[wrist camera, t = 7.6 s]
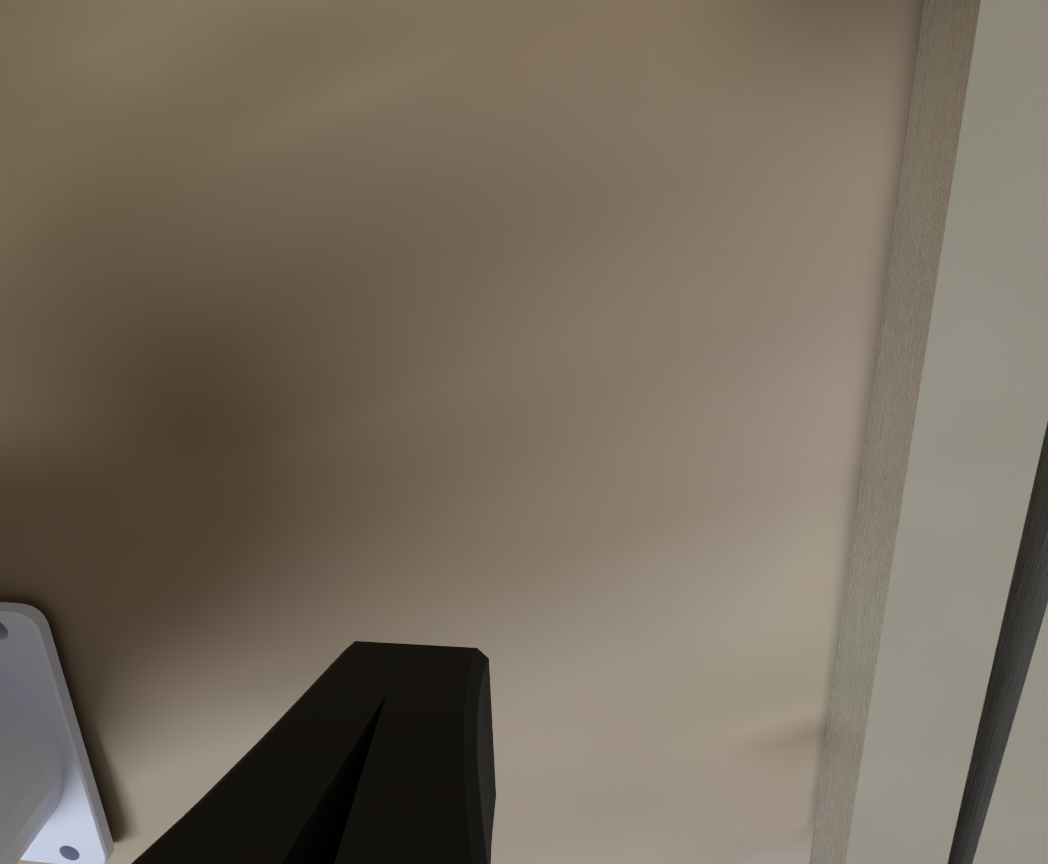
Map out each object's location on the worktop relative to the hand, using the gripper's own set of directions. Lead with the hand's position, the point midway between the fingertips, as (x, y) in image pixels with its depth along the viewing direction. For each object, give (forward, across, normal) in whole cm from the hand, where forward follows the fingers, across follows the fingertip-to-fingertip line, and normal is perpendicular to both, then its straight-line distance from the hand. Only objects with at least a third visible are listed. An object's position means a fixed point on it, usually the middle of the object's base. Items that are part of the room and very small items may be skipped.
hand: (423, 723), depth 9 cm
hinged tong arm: (+8, -7, +3) cm, 11 cm away
